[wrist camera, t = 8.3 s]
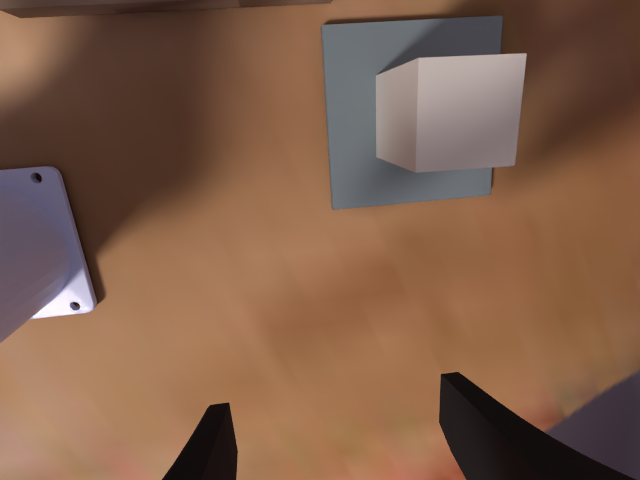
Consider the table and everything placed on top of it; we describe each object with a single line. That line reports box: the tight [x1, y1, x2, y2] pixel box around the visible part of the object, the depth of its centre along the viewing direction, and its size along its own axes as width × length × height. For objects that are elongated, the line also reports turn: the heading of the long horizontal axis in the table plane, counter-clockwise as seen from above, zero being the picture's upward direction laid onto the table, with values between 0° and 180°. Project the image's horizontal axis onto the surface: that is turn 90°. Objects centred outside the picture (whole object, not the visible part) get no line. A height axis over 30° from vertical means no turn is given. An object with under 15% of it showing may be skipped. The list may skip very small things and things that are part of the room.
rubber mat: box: [321, 15, 503, 210], centre depth 20 cm, size 9×9×1 cm
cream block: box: [376, 53, 527, 173], centre depth 17 cm, size 4×4×6 cm
